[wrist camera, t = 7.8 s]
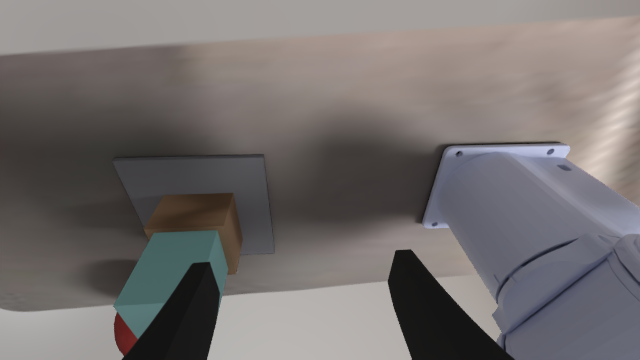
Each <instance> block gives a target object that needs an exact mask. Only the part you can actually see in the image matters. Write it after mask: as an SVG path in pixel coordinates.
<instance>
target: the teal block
mask: <svg viewBox="0 0 640 360" xmlns="http://www.w3.org/2000/svg"><path fill="white" fill-rule="evenodd" d="M198 262H210V264H211V267H212V270H213V273H214V276H215V279H216V282H217V285H218V288H219V291H220V299H219V307H220V302H221V298H222V294H223V289H224V285H225V281H226V276H227V272H228V266H227V263H226V259H225V256H224V252H223V248H222V245H221V241H220V238H219V234H218V231H217V230H208V231H185V232H162V233H153V235H152V237H151V239H150V241H149V242H148V244H147V246H146V248H145V250H144V251H143V253H142V255H141V257H140V259H139V260H138V262H137V264H136V266H135V268H134V269H133V271H132V273H131V275H130V277H129V279H128V280H127V282H126V284H125V286H124V288H123V289H122V291H121V293H120V295H119V297H118V298H117V300H116V302H115V304H114V306H113V307H114V308H115V309H116V311H117V312H118V313H119V315H120V316H121V317H122V319H123V320H124V321H125V323H126V324H127V325H128V327H129V328H130V329H131V331H132V332H133V333H134V335H135V336H136V337H137V339H139V337H140V336H141V335H142V334H143V332H144V331H145V330H146V329H147V327H148V326H149V325H150V323H151V322H152V321H153V319H154V318H155V317H156V315H157V314H158V312H159V311H160V310H161V308H162V307H163V305H164V304H165V303H166V301H167V300H168V298H169V297H170V296H171V294H172V293H173V291H174V290H175V288H176V287H177V285H178V284H179V282H180V281H181V279H182V278H183V276H184V275H185V273H186V272H187V270H188V269H189V267H190V266H191V264H192V263H198ZM219 307H218V311H219ZM217 316H218V314H217Z"/></svg>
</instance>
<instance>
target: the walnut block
mask: <svg viewBox="0 0 640 360" xmlns="http://www.w3.org/2000/svg"><path fill="white" fill-rule="evenodd" d="M143 230H144V232H145V234H146V236H147V238H148V240H149V241H150V239H151V237H152V235H153V233H162V232H185V231H208V230H217V231H218V234H219V238H220V241H221V245H222V248H223V252H224V256H225V259H226V263H227V266H228V272H227V275H229V274H236V271H237V266H238V261H239V256H240V251H241V246H242V241H243V237H242V232H241V228H240V223H239V218H238V213H237V208H236V203H235V199H234V194H233V193H212V194H182V195H164V196H163V198H162V199H161V201H160V203H159V204H158V206H157V208H156V209H155V211H154V213H153V214H152V216H151V218H150V219H149V221H148V223H147V224H146V226H145V227H144V229H143Z"/></svg>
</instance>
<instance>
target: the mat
mask: <svg viewBox="0 0 640 360" xmlns="http://www.w3.org/2000/svg"><path fill="white" fill-rule="evenodd" d="M112 163H113V165H114V167H115V169H116V171H117V173H118V175H119V177H120V179H121V182H122V184H123V186H124V188H125V190H126V192H127V194H128V196H129V198H130V200H131V202H132V204H133V206H134V208H135V210H136V213H137V215H138V217H139V219H140V221H141V223H142V225H143V227H145V226H146V224H147V223H148V221H149V219H150V218H151V216H152V214H153V213H154V211H155V209H156V208H157V206H158V204H159V203H160V201H161V199H162V198H163V196H164V195H182V194H212V193H233V194H234V199H235V203H236V208H237V213H238V218H239V223H240V228H241V232H242V237H243V241H242V246H241V251H240V255H252V254H273V253H274V252H275V249H274V240H273V232H272V223H271V214H270V206H269V197H268V189H267V180H266V171H265V163H264V155H224V156H181V157H139V158H114V159H113V160H112Z"/></svg>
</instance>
